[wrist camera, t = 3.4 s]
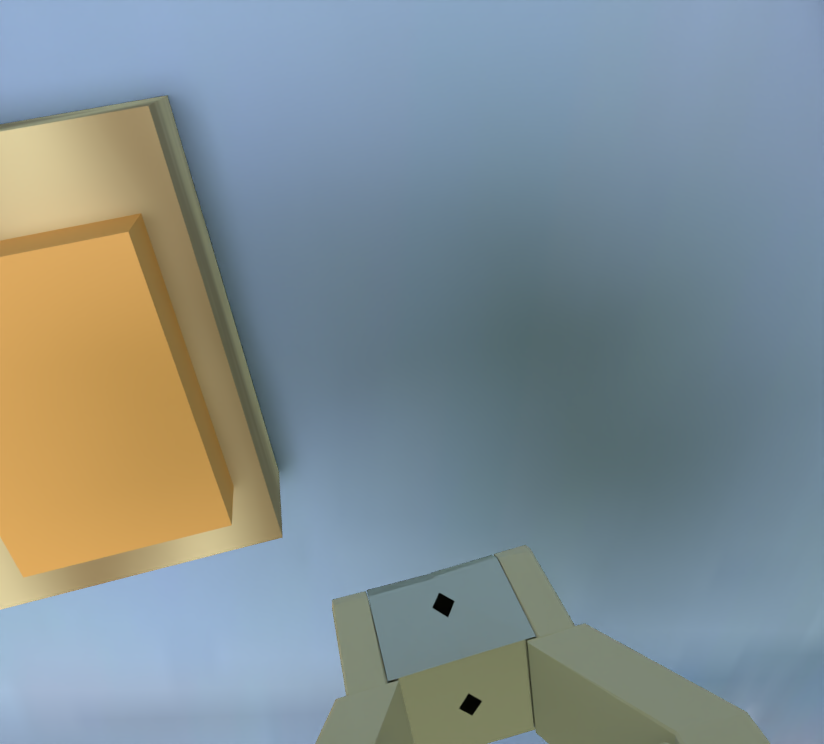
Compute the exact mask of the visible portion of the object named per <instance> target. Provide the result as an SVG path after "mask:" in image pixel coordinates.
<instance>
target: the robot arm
mask: <svg viewBox="0 0 824 744" xmlns="http://www.w3.org/2000/svg"><path fill="white" fill-rule="evenodd" d="M367 594H368V597H367ZM368 599H369V601H368ZM369 603H370V604H369ZM332 611H333V617H334V623H335V629H336V635H337V641H338V648H339V654H340V660H341V666H342V672H343V678H344V685H345V691H346V696H344V697H341V698H338V699H336V700H335V702H334V705H333V707H332V709H331V711H330V713H329V715H328V718H327V720H326V722H325V724H324V726H323V728H322V730H321V733H320V735H319V737H318V739H317V741H316V743H315V744H487V743H491V742H494V741H497V740H501V739H504V738H508V737H511V736H514V735H518V734H521V733H525V732H528V731H531V730H535V729H536V733H537V734H538V735H539V736H541V737H542V738H543V739H544V740H545V741H546V742H548V743H549V744H770V742H769V741H768V740H767V738H766V737H765V736H764V734H763V733H762V732H761V730H760V729H759V728H758V726H757V725H756V724H755V722H754V721H753V720H752V719H751V717H750V716H749V715H748V713H747V712H745V711H744V710H742V709H740V708H738V707H736V706H734V705H733V704H731V703H729V702H727V701H725V700H724V699H722V698H720V697H718V696H716V695H714V694H713V693H711V692H709V691H707V690H705V689H704V688H702V687H700V686H698V685H696V684H694V683H693V682H691V681H689V680H687V679H685V678H684V677H682V676H680V675H678V674H676V673H674V672H673V671H671V670H669V669H667V668H665V667H663V666H662V665H660V664H658V663H656V662H654V661H653V660H651V659H649V658H647V657H645V656H643V655H642V654H640V653H638V652H636V651H634V650H633V649H631V648H629V647H627V646H625V645H623V644H622V643H620V642H618V641H616V640H614V639H613V638H611V637H609V636H607V635H605V634H603V633H602V632H600V631H598V630H596V629H594V628H592V627H591V626H589V625H587V624H581V625H577V626H575V625H574V623H573V621H572V620H571V618H570V616H569V615H568V613H567V611H566V609H565V608H564V606H563V604H562V602H561V601H560V599H559V597H558V596H557V594H556V592H555V590H554V589H553V587H552V585H551V583H550V582H549V580H548V578H547V577H546V575H545V573H544V571H543V570H542V568H541V566H540V564H539V563H538V561H537V559H536V558H535V556H534V554H533V552H532V551H531V549H530V548H529V547H527V546H526V545H523V546H520V547H516V548H513V549H509V550H506V551H503V552H499V553H496V554H494V556H493V555H489V556H486V557H483V558H479V559H476V560H472V561H469V562H466V563H462V564H459V565H456V566H452V567H449V568H445V569H442V570H439V571H435V572H432V573H430V574H427V575H423V576H419V577H415V578H411V579H407V580H403V581H400V582H396V583H392V584H388V585H384V586H380V587H376V588H372V589H369V590H367V593H366V591H364V592H360V593H356V594H352V595H348V596H344V597H340V598H336V599H333V600H332Z"/></svg>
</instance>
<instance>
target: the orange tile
mask: <svg viewBox="0 0 824 744" xmlns="http://www.w3.org/2000/svg"><path fill="white" fill-rule="evenodd" d="M233 491H234V486H233V483H232V480H231V477H230V474H229V471H228V468H227V465H226V462H225V459H224V456H223V453H222V450H221V447H220V444H219V441H218V439H217V436H216V433H215V430H214V427H213V424H212V421H211V418H210V415H209V412H208V409H207V406H206V403H205V400H204V397H203V394H202V391H201V388H200V385H199V383H198V380H197V377H196V374H195V371H194V368H193V365H192V362H191V359H190V356H189V353H188V350H187V347H186V344H185V341H184V338H183V335H182V332H181V329H180V327H179V324H178V321H177V318H176V315H175V312H174V309H173V306H172V303H171V300H170V297H169V294H168V291H167V288H166V285H165V282H164V279H163V276H162V273H161V271H160V268H159V265H158V262H157V259H156V256H155V253H154V250H153V247H152V244H151V241H150V238H149V235H148V232H147V229H146V226H145V223H144V220H143V217H142V215H141V213H140V214H135V215H130V216H124V217H119V218H114V219H109V220H104V221H99V222H93V223H88V224H83V225H78V226H73V227H68V228H62V229H57V230H52V231H47V232H42V233H37V234H32V235H26V236H21V237H16V238H11V239H6V240H1V241H0V537H1V539H2V541H3V543H4V544H5V546H6V548H7V550H8V551H9V553H10V555H11V557H12V558H13V560H14V562H15V564H16V566H17V567H18V569H19V571H20V573H21V574H22V576H23V578H24V577H28V576H32V575H36V574H40V573H44V572H48V571H52V570H56V569H60V568H64V567H68V566H72V565H76V564H80V563H84V562H88V561H92V560H96V559H100V558H104V557H108V556H112V555H116V554H120V553H123V552H127V551H131V550H135V549H139V548H143V547H147V546H151V545H155V544H159V543H163V542H167V541H171V540H175V539H179V538H183V537H187V536H191V535H195V534H199V533H203V532H207V531H211V530H215V529H219V528H223V527H227V526H231V525H232V511H233Z"/></svg>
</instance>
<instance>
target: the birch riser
mask: <svg viewBox="0 0 824 744" xmlns="http://www.w3.org/2000/svg"><path fill="white" fill-rule="evenodd" d="M140 213H141V215H142V217H143V220H144V223H145V226H146V229H147V232H148V235H149V238H150V241H151V244H152V247H153V250H154V253H155V256H156V259H157V262H158V265H159V268H160V271H161V273H162V276H163V279H164V282H165V285H166V288H167V291H168V294H169V297H170V300H171V303H172V306H173V309H174V312H175V315H176V318H177V321H178V324H179V327H180V329H181V332H182V335H183V338H184V341H185V344H186V347H187V350H188V353H189V356H190V359H191V362H192V365H193V368H194V371H195V374H196V377H197V380H198V383H199V385H200V388H201V391H202V394H203V397H204V400H205V403H206V406H207V409H208V412H209V415H210V418H211V421H212V424H213V427H214V430H215V433H216V436H217V439H218V441H219V444H220V447H221V450H222V453H223V456H224V459H225V462H226V465H227V468H228V471H229V474H230V477H231V480H232V483H233V486H234V491H233V511H232V525H231V526H227V527H223V528H219V529H215V530H211V531H207V532H203V533H199V534H195V535H191V536H187V537H183V538H179V539H175V540H171V541H167V542H163V543H159V544H155V545H151V546H147V547H143V548H139V549H135V550H131V551H127V552H123V553H120V554H116V555H112V556H108V557H104V558H100V559H96V560H92V561H88V562H84V563H80V564H76V565H72V566H68V567H64V568H60V569H56V570H52V571H48V572H44V573H40V574H36V575H32V576H28V577H24V578H23V576H22V574H21V573H20V571H19V569H18V567H17V566H16V564H15V562H14V560H13V558H12V557H11V555H10V553H9V551H8V550H7V548H6V546H5V544H4V543H3V541H2V539H1V537H0V609H4V608H8V607H12V606H16V605H20V604H24V603H28V602H32V601H36V600H40V599H43V598H47V597H51V596H55V595H59V594H63V593H67V592H71V591H75V590H79V589H83V588H86V587H90V586H94V585H98V584H102V583H106V582H110V581H114V580H118V579H122V578H125V577H129V576H133V575H137V574H141V573H145V572H149V571H153V570H157V569H161V568H165V567H168V566H172V565H176V564H180V563H184V562H188V561H192V560H196V559H200V558H204V557H208V556H211V555H215V554H219V553H223V552H227V551H231V550H235V549H239V548H243V547H247V546H251V545H254V544H258V543H262V542H266V541H270V540H274V539H278V538H282V519H281V501H280V482H279V471H278V467H277V464H276V460H275V457H274V454H273V450H272V447H271V444H270V440H269V437H268V433H267V430H266V427H265V423H264V420H263V417H262V413H261V410H260V406H259V403H258V400H257V396H256V393H255V390H254V386H253V383H252V380H251V376H250V373H249V369H248V366H247V363H246V359H245V356H244V353H243V349H242V346H241V342H240V339H239V336H238V332H237V329H236V326H235V322H234V319H233V315H232V312H231V309H230V305H229V302H228V299H227V295H226V292H225V288H224V285H223V282H222V278H221V275H220V272H219V268H218V265H217V261H216V258H215V255H214V251H213V248H212V245H211V241H210V238H209V234H208V231H207V228H206V224H205V221H204V218H203V214H202V211H201V207H200V204H199V201H198V197H197V194H196V191H195V187H194V184H193V181H192V177H191V174H190V170H189V167H188V164H187V160H186V157H185V154H184V150H183V147H182V143H181V140H180V137H179V133H178V130H177V127H176V123H175V120H174V116H173V113H172V110H171V106H170V103H169V100H168V96H167V95H166V96H161V97H155V98H149V99H143V100H138V101H132V102H126V103H121V104H115V105H109V106H103V107H98V108H92V109H86V110H80V111H75V112H69V113H63V114H57V115H52V116H46V117H40V118H34V119H29V120H23V121H17V122H11V123H6V124H0V241H1V240H6V239H11V238H16V237H21V236H26V235H32V234H37V233H42V232H47V231H52V230H57V229H62V228H68V227H73V226H78V225H83V224H88V223H93V222H99V221H104V220H109V219H114V218H119V217H124V216H130V215H135V214H140Z"/></svg>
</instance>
